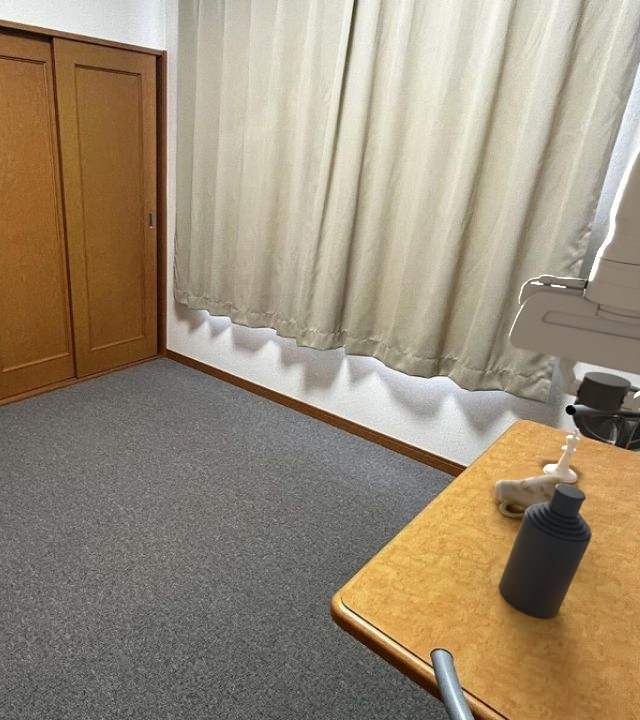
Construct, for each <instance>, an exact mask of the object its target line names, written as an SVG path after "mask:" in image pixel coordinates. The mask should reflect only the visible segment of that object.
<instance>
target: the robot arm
mask: <svg viewBox="0 0 640 720" xmlns="http://www.w3.org/2000/svg"><path fill="white" fill-rule="evenodd" d="M615 195H616V196H615V198H614V200H613V204H612V207H611V210H610V215H609V216H610V217H609V220H610V221H609V222H610V224H609V225H610V227H609V232H608V235H607V237H606V239H605V240H604V242H603V244H602V245H601V247H599V250H598V251H597V252H596V253H597V254H596V257H595V259H594V263H593V265H592V268H591V272H590V275H589V278H588V279H583V278H575V277H560V276H559V277H558V276H554V275H551V274H550V275H549V274H542V275H540V276H539V277H533V278H530V279H529V280H527V281H525V282H524V283H523V285H522V287H521V290H520V293H519V295H518V303H519V306H520V307H521V308H520V309H519V312H518V313H517V315H516V317H515V320H514V322H513V324H512V326H511V330H510V332H509V335H508V340H509V343H510V344H511V346H512V347H513V348H515V349H519V350H523V351H528V352H532V353H536V354H542V355H546V356H550V357H555V358H560V359H559V362H558V369H559V372H560V374H561V376H562V378H563V381H564V384H563V387H562V391H561V394H563V395H568V396H572V397H575V398H576V397H577V395H578V391H579V389H580V386H581V382H582V380H583V379H580V378H577V377H576V374H575V371H574V367H575V366H576V365H577V364H578V363H582V364H587V365H592V366H595V367H599V368H600V367H601V368H604V369H610V370H614V371H619V372H623V373H629V374H632V375H637V376H640V146H638V148H637V149H636V151H635V153H634V155H633V156H632V158H631V160H630V162H629V164H628V165H627V168H626V170H625V172H624V175H623V177H622V179H621V182H620V185H619V187H618V190H617V192H616V194H615ZM620 408H621V410H626V411H629V412H632V413H638V412H639V409H640V390H639V391H638V392H636V391H635V392H634V391H631V390H629V391H628V394H626V395H625V396H624V399H623V403H622V404H621V407H620Z"/></svg>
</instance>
